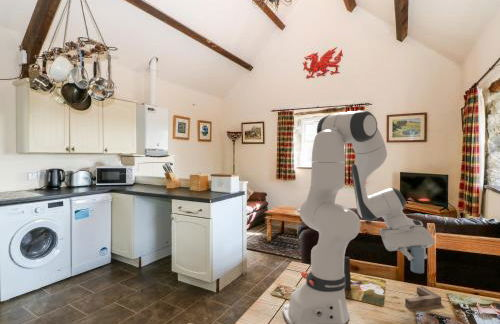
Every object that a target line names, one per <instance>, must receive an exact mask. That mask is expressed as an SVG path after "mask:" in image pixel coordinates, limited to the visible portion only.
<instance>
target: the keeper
mask: <svg viewBox="0 0 500 324" xmlns="http://www.w3.org/2000/svg"><path fill="white" fill-rule="evenodd" d="M410 254H413V256H414V258H415V259H414V260H410V271H411V272H413V273H415V274H424V273H425V259H424V248H423V247H420V246H411V249H410Z"/></svg>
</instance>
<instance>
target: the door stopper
mask: <svg viewBox="0 0 500 324" xmlns="http://www.w3.org/2000/svg"><path fill="white" fill-rule="evenodd" d="M350 259H351V258H350V256H347V255H346V256H345V257H344V274H345V279H346V287H345V290H347V289H349V290H350V291H351V290H352V283H351V260H350ZM349 290H348V291H349Z"/></svg>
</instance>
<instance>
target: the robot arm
mask: <svg viewBox="0 0 500 324" xmlns="http://www.w3.org/2000/svg"><path fill="white" fill-rule="evenodd" d="M385 143H386V142H385V141H384V138H383V136H382V134H381V132H380V129H379V127H378V122H377V118H376V117H375V116H374V114H372V112H370V111H368V110H357V111H347V112H346V111H343V112H337V113H334V114H328V115H325V116H323V117H322V118H320V120H319V121H318V123H317V127H316V135H315V136H314V140H313V145H312V151H311V152H312V153H311V174H310V175H311V177H310V180H311V181H310V187H309V191H308V194H307V197H306V200H305V201H304V202H303V203H302V204H301V206H300V209H299V217H300V219H301V220H302V222H303V223H304V224H305V225H306V226H307V227H308V228H310V229H312V230H314V231H317V232H318V240H317V244H316V245H314V246H313V247H312V249H311V251H310V265H311V266H310V271H309V273H308V272H306V271H305V270H303V271H302V272H301V274H300V275H301V276H302V278H303V279H304V280H305V282H304V283H303V284H302V285H300V286H299V287H298V288H297V289H295V290H294V291H293V292H292V293H291V295H290V297H289V302H288V303H286V304H284V305H283V308H282V312H283V313H282V314H283V317H284V318H285V321H286V322H287V323H288V324H347V323H348V321H349V319H350V313H349V310H348V306H347V301H346V293H345V291H346V289H345V287H346V279H345V274H344V257H345V254H346V249H347V247H348V245H349V243H350V242H351V241H352V240H354V239H355V238H356V237H357V236H358V234H359V233H360V229H361V220H360V218H361V219H362V220H364V221H366V222H367V221H368V222H373V221H374V220H375V221H376V220H377V219H379V218H382V219H383V220H384V224H385V225H386V227H381V228H380V229H379V230H378V231H379V232H378V233H379V235H380V236H381V240H382V243H383V245H384V247H385V249H386V250H387V251H388V252H394V251H400V252H401V254H403V255H404V256H405V257H406V258H407V259H408V261H411V260H414V259H415V258H414V256H413V254H411V252H409V251H408V250H411V246H420V247H423V248H424V260H426V259H427V258H429V257H428V255H427V253H426V249H427V248H431V247H432V246H434V245H435V240H434V237H433V236H432V235H431V233H430V232H429V230H428V229H427V228H426V227H424V224H423V222H422V221H421V220H418V219H417V220H416V219H413V218H410V217H408V216H407V214H405V213H404V212H403V210H404V209H405V207H406V204H407V201H406V198H405V197H404V196H403V194H402V192H401V191H400V189H397V188H394V187H388V188H385V189H383V190H379V191H378V192H375V193H372V194H369V195H367V190H366V188H367V187H366V181H367V179H368V177H370V176H371V175H372V174H373V173H374V172H375V171H376V170H379V168H381V166H382V165H383V164H384V163H385V161H386V159H387V156H388V152H387V146H386V144H385ZM346 144H351V146H352V148H353V152H354V155H355V158H354V159H355V160H354V163H353V164H351V178H352V185H353V190H354V195H355V203H356V211H357V213H358V214H357V213H356V212H355V211H353V210H352V209H350V208H349V207H347V206H344V205H342V204H338V203H336V198H337V194H338V192H339V191H340V190H341V189H342V188H344V186H345V185H346V184H345V183H346V181H345V180H346V179H345V177H346V176H345V175H346V153H345V145H346Z"/></svg>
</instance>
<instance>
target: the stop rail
mask: <svg viewBox="0 0 500 324" xmlns="http://www.w3.org/2000/svg"><path fill="white" fill-rule="evenodd" d="M416 294H417V295H420V296H415V297H408V298H405V299H404V301H405V302H404V303H405V304H404V305H405V306H406V307H407V308H408V309H414V308H415V309H416V308H421V307H429V306H430V307H431V306H435V305H441V304H442V296H440V295H438V294H437V293H434V291H432V290H430V289H428V288H426V287H424V286H423V285H421V286H416Z"/></svg>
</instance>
